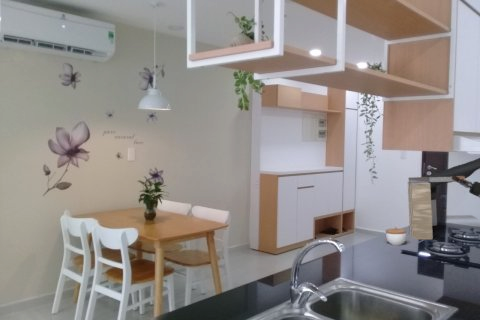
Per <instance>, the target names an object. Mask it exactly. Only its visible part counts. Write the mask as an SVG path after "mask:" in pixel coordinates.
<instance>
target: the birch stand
mask: <svg viewBox="0 0 480 320" xmlns="http://www.w3.org/2000/svg"><path fill="white" fill-rule="evenodd" d="M407 197H408V200H407V201H408V218H409V219H408V220H409V235H410V236H411V238H412V239H413V240H433V238H434V235H433V234H434V233H433V226H432V211H431V189H430V183H429V178H427V177H424V176H421V177H418V176H415V177H408V181H407Z"/></svg>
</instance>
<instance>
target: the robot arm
mask: <svg viewBox="0 0 480 320" xmlns="http://www.w3.org/2000/svg"><path fill="white" fill-rule="evenodd" d="M477 170H480V157H478V158H476V159H474V160H470V161H468V162H465V163H461V164H458V165H455V166H452V167H449V168H448V169H444V170H443V171H442V170H441V172H438V173H434V174H430V175H424V176H423V177H427V178H429V177H451V176H453V177H452V179H453V180H455V181H457V182H456V183H458V184H459V185H461V186H462V187H465V188H466V189H469V194H471V195H473V196H476V197H477V198H479V199H480V182H479V181H474V182H472V181H470V180H467V178H469V177H471V176H472V175H473V174H474V173H475V172H476V171H477ZM456 176H465V179H461V178H458V177H456ZM429 183H430V189H431V211H432V227H433V226H437V225H438V220H437V219H438V218H437V195H438V194H437V193H438V192H437V188H438V187H437V186H439V185H443V184H449V183H452V182H451V181H450V182H429Z"/></svg>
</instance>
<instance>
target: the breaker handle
mask: <svg viewBox="0 0 480 320" xmlns="http://www.w3.org/2000/svg"><path fill="white" fill-rule="evenodd" d="M452 177H453V176H451V177H429V182H449V183H458V182H457V181H455V180H453V179H452ZM456 177H458V178H461V179H465V180H466V178H465V176H456ZM450 181H451V182H450Z"/></svg>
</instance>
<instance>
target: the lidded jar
mask: <svg viewBox="0 0 480 320" xmlns="http://www.w3.org/2000/svg"><path fill="white" fill-rule="evenodd" d="M385 236H386V239H387V242H388V243H389V244H390V245H392V246H403V244H404V243H405V242H406V240H407V239H406V238H407V230H406V229H404V228H398V227H397V226H395V227H394V228H388V229H387V228H386V229H385Z"/></svg>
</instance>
